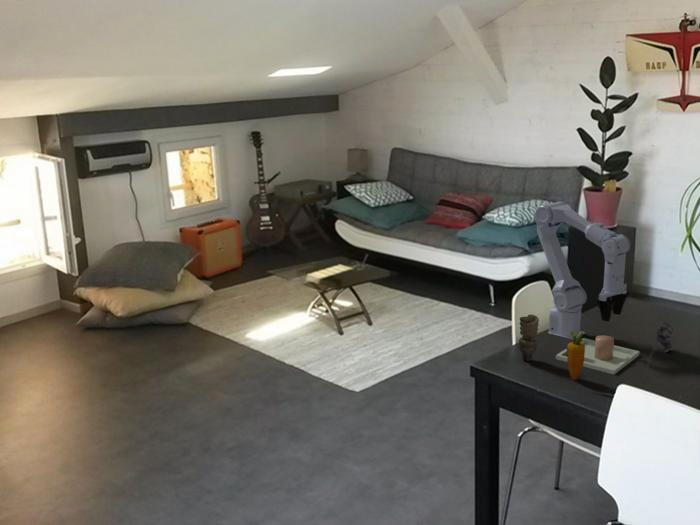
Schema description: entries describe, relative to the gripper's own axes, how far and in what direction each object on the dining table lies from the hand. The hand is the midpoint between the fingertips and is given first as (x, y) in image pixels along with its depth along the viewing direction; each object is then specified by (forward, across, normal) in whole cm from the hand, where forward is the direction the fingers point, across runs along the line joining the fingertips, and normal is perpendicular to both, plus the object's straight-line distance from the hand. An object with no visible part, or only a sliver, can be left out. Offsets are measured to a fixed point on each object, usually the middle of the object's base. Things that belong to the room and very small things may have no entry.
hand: (611, 317), depth 223 cm
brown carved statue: (+11, -25, +14) cm, 31 cm away
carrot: (+10, -28, -3) cm, 31 cm away
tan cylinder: (+10, -9, -2) cm, 13 cm away
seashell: (+10, +8, -14) cm, 19 cm away
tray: (+10, -10, -1) cm, 14 cm away
